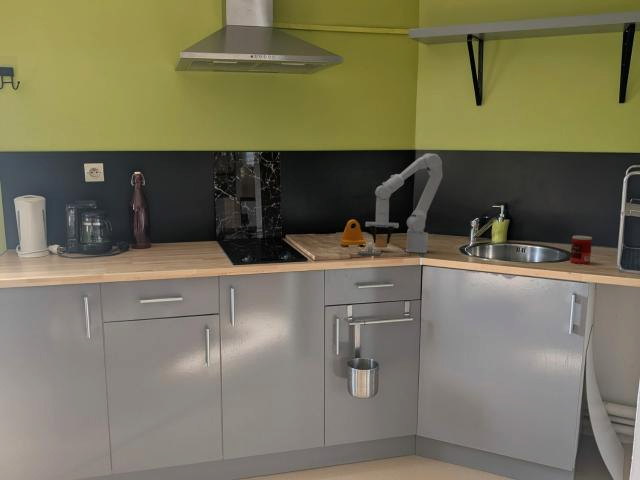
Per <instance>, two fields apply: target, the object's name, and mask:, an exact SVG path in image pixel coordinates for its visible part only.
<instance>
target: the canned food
mask: <svg viewBox="0 0 640 480" xmlns="http://www.w3.org/2000/svg"><path fill="white" fill-rule="evenodd" d="M592 244H593V237H592V236H587V235H573V236H572V237H571V248H570V257H569V258H570V259H569V260H570V263H572V264H574V265H581V264H586V265H589V264H590V263H591V254H592Z"/></svg>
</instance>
